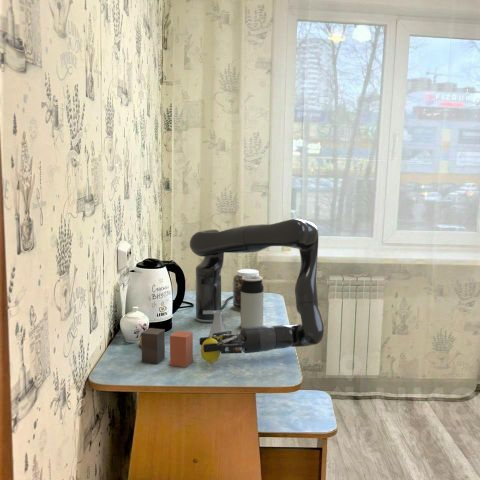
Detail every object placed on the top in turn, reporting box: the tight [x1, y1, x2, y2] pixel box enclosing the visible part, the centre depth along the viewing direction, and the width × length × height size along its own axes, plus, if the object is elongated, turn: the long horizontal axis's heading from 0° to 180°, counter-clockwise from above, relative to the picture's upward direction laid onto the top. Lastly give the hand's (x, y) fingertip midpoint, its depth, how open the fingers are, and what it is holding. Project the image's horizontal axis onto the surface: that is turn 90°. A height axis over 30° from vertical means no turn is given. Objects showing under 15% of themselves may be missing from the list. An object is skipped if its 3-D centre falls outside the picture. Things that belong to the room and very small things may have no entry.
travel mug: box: [240, 275, 265, 329], centre depth 211 cm, size 8×8×18 cm
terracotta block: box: [169, 330, 194, 368], centre depth 175 cm, size 5×5×9 cm
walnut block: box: [140, 327, 166, 365], centre depth 177 cm, size 5×5×9 cm
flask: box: [207, 310, 226, 339], centre depth 195 cm, size 7×7×10 cm
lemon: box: [200, 337, 221, 365], centre depth 173 cm, size 6×6×8 cm
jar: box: [232, 268, 264, 312], centre depth 235 cm, size 12×12×15 cm
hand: (201, 345), depth 172 cm, fingers closed on lemon, 5 cm apart
